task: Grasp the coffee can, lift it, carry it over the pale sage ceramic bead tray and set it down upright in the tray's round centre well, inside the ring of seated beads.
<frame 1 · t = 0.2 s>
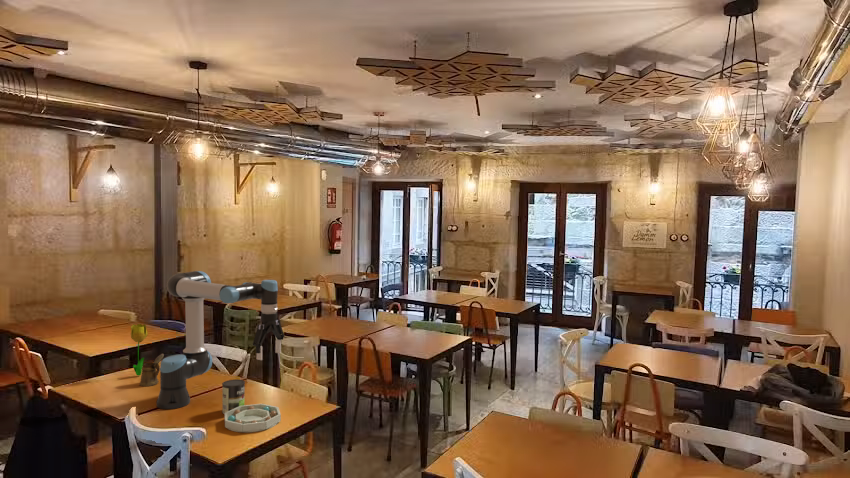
hand: (268, 356, 263), 27 cm above the table, fingers open, 13 cm apart
coffee can: (233, 411, 264), on the table
wooden mug: (152, 384, 300), on the table
flower: (138, 376, 313), on the table
tray: (252, 421, 252), on the table
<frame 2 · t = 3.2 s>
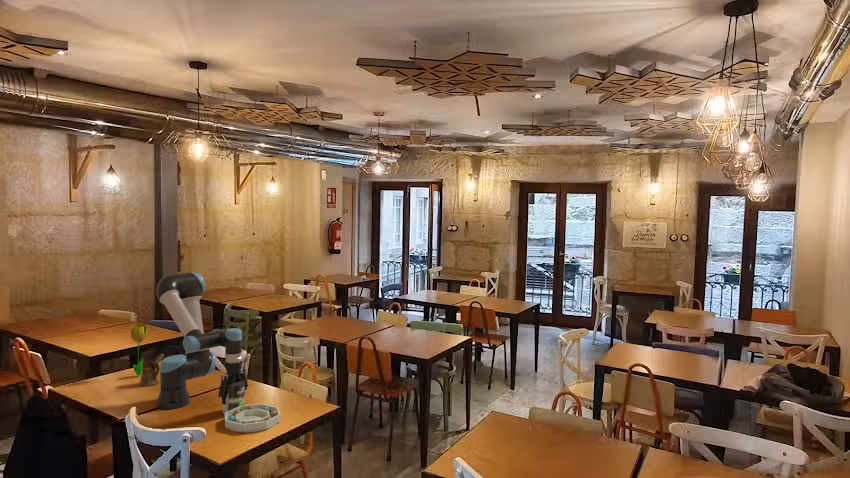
hand: (233, 406, 264), 2 cm above the table, fingers closed on coffee can, 10 cm apart
coffee can: (233, 411, 264), on the table, touching gripper
everything else where it was.
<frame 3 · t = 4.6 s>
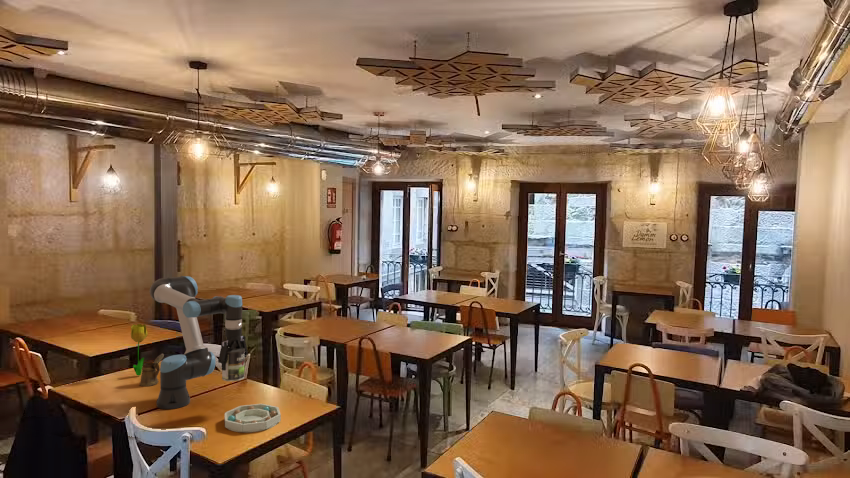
hand: (233, 373, 263), 18 cm above the table, fingers closed on coffee can, 10 cm apart
coffee can: (233, 378, 263), point 16 cm above the table, touching gripper
everything else where it was.
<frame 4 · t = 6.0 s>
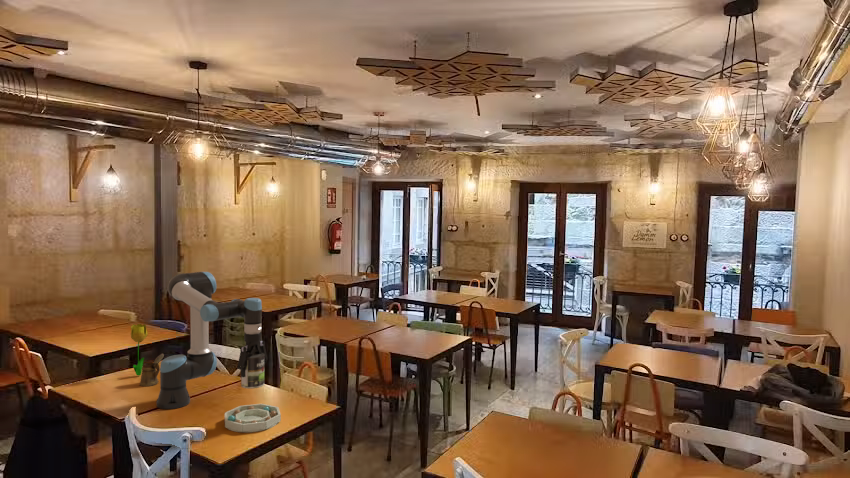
hand: (252, 380, 251), 19 cm above the table, fingers closed on coffee can, 10 cm apart
coffee can: (252, 385, 251), point 17 cm above the table, touching gripper
everything else where it was.
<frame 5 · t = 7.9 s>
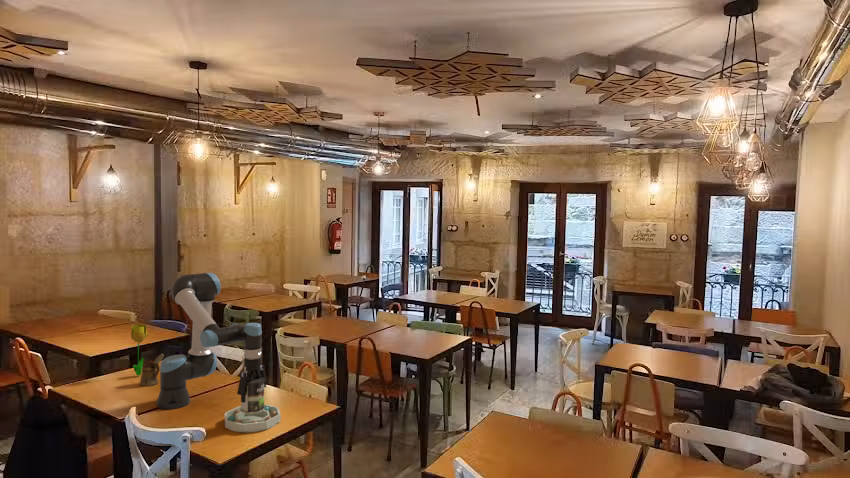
hand: (252, 405, 251), 8 cm above the table, fingers closed on coffee can, 10 cm apart
coffee can: (252, 410, 251), point 5 cm above the table, touching gripper
everything else where it was.
when the fingers open (4 cm above the table, at t = 9.2 s): coffee can drops 1 cm, resting on tray.
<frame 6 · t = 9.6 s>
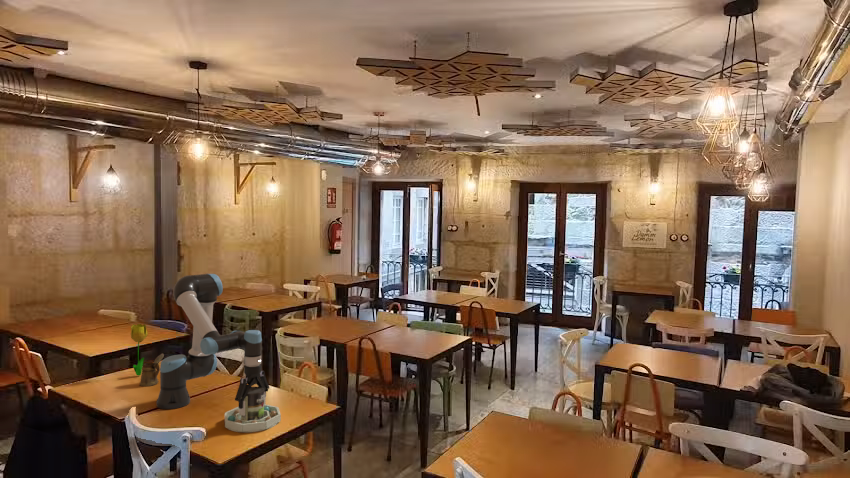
hand: (252, 410, 251), 6 cm above the table, fingers open, 13 cm apart
coffee can: (252, 420, 252), point 1 cm above the table, touching tray
everything else where it was.
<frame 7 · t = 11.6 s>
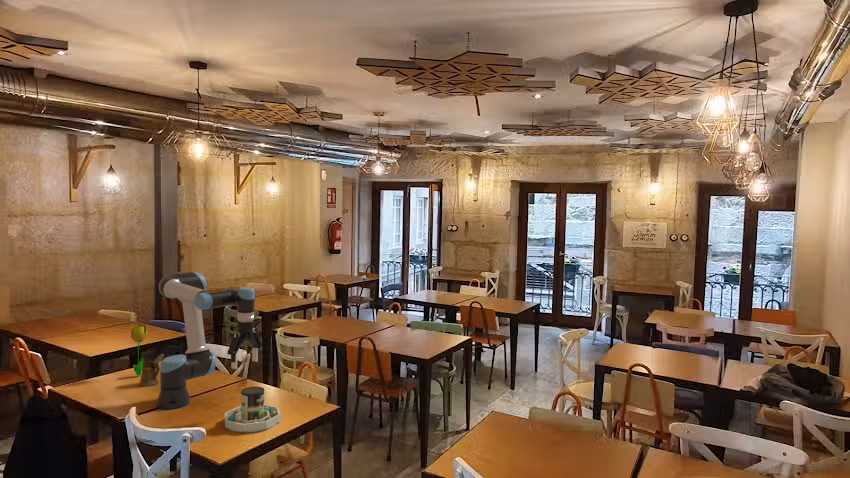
hand: (244, 364, 258), 24 cm above the table, fingers open, 13 cm apart
nothing on the table moved.
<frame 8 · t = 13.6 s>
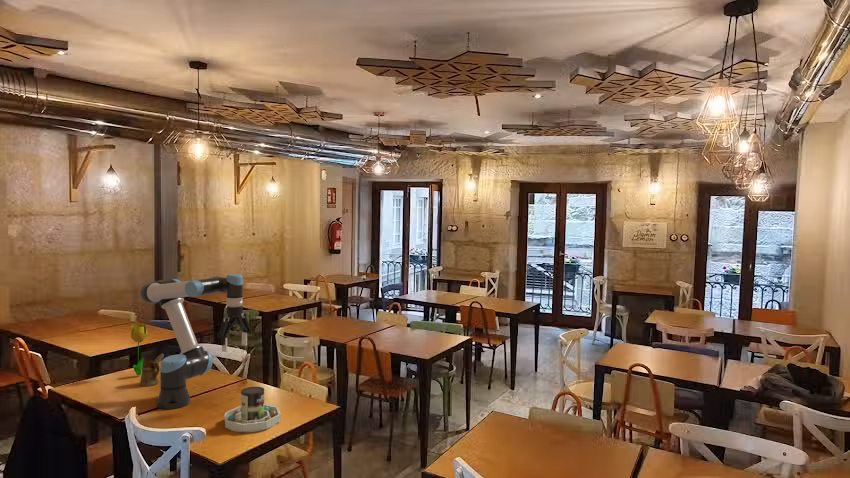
hand: (234, 348, 270), 29 cm above the table, fingers open, 13 cm apart
nothing on the table moved.
at the end: coffee can 0.0 cm off-centre on the tray, point 0.6 cm above the tray's base; coffee can tilted 0°; the gripper is holding nothing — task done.
